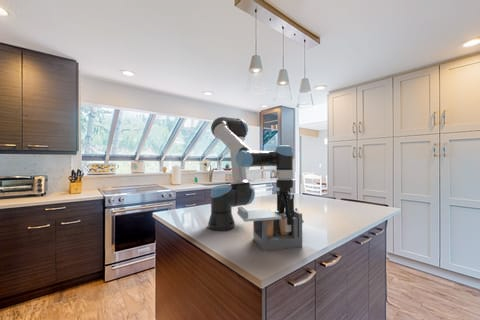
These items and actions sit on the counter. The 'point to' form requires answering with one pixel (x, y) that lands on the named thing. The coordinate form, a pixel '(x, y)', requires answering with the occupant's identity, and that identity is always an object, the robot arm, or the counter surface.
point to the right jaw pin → (283, 226)
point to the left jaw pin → (269, 228)
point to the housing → (278, 234)
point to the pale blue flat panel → (257, 215)
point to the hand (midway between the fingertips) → (285, 229)
